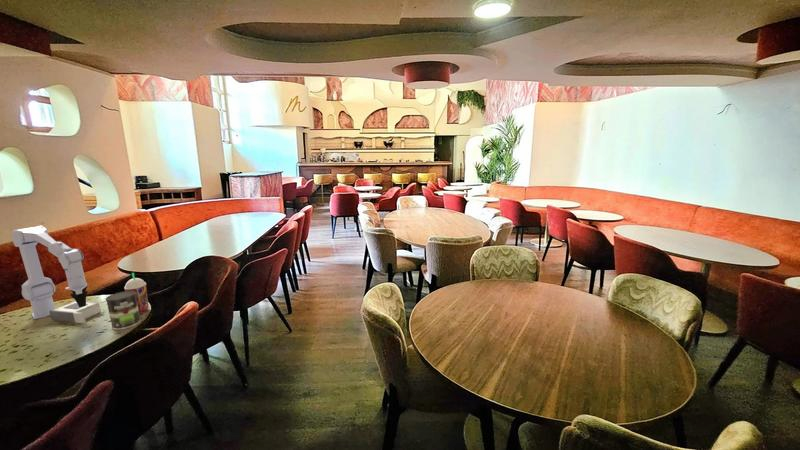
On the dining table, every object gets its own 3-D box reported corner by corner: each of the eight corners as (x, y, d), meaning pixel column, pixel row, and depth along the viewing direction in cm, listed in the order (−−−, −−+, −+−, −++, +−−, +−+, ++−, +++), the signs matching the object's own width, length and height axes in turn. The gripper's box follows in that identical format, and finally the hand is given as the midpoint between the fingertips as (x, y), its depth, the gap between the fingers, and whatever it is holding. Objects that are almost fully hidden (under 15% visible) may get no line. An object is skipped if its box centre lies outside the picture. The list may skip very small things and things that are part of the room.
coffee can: (143, 323, 150) (137, 294, 147) (114, 332, 143) (107, 302, 140) (138, 316, 157) (133, 288, 154) (110, 324, 150) (104, 295, 147)
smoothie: (154, 310, 163) (146, 271, 159) (133, 317, 156) (125, 277, 152) (146, 306, 168) (139, 269, 163) (126, 312, 161) (118, 274, 156)
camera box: (78, 310, 165) (76, 300, 164) (101, 312, 162) (98, 302, 161) (54, 319, 155) (51, 309, 154) (78, 322, 152) (75, 311, 151)
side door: (53, 319, 155) (51, 309, 154) (85, 322, 151) (83, 312, 150) (51, 320, 154) (49, 310, 153) (83, 323, 150) (81, 313, 149)
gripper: (63, 274, 151) (70, 302, 154) (63, 283, 141) (70, 312, 144) (84, 270, 156) (90, 297, 159) (85, 278, 146) (92, 306, 149)
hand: (82, 304), depth 152 cm, fingers open, 6 cm apart
